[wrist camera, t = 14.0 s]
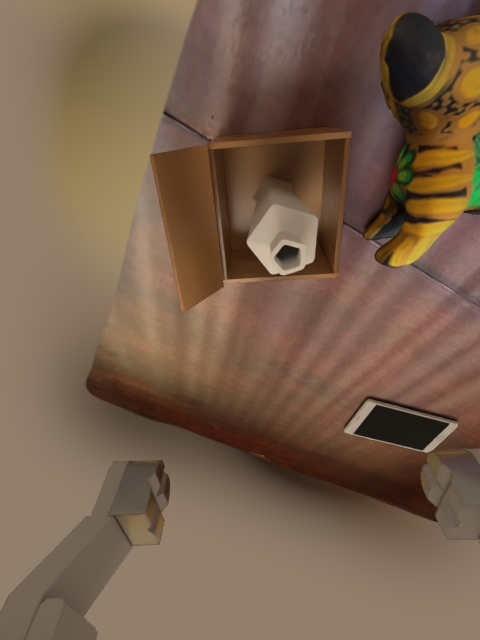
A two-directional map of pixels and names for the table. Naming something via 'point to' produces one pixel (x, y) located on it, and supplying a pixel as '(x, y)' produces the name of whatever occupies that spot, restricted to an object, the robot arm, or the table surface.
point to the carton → (307, 185)
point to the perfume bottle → (282, 228)
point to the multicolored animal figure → (430, 132)
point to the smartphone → (399, 426)
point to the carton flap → (189, 221)
